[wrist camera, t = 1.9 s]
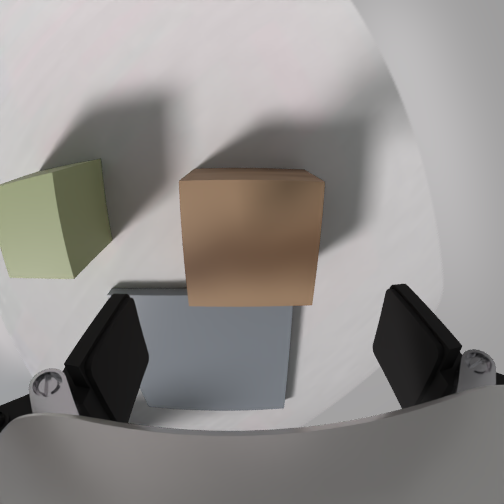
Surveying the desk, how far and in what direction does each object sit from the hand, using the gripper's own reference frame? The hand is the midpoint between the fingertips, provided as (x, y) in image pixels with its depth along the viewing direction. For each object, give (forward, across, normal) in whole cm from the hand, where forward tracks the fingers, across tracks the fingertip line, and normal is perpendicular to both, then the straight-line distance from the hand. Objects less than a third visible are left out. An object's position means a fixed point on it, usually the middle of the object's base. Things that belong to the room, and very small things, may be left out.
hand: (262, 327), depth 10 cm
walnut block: (+10, 0, -1) cm, 10 cm away
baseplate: (+10, +4, +11) cm, 16 cm away
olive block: (+10, +13, -3) cm, 17 cm away
